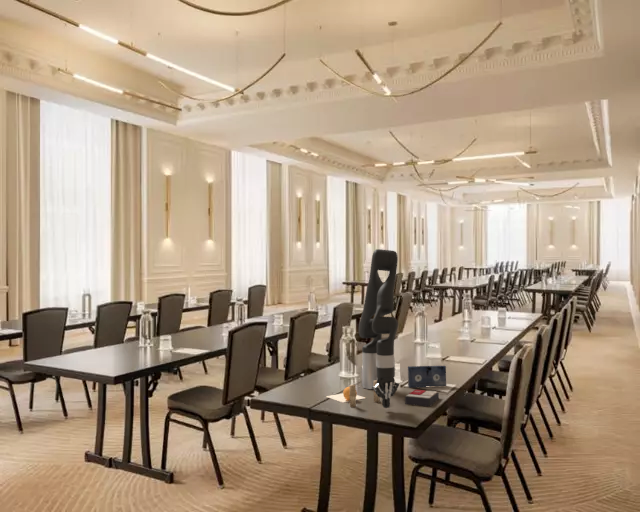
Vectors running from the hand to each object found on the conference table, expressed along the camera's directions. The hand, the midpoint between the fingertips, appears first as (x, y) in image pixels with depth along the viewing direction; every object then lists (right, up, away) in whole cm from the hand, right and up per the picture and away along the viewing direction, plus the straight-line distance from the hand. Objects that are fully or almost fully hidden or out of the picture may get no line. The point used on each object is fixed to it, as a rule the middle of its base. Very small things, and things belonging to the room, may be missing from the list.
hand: (386, 407), depth 232 cm
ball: (-14, +1, +18) cm, 23 cm away
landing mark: (-16, -2, +23) cm, 28 cm away
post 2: (-2, -2, +15) cm, 16 cm away
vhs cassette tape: (+25, -2, +42) cm, 49 cm away
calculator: (+18, -2, +15) cm, 23 cm away
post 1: (-13, -2, +8) cm, 16 cm away
